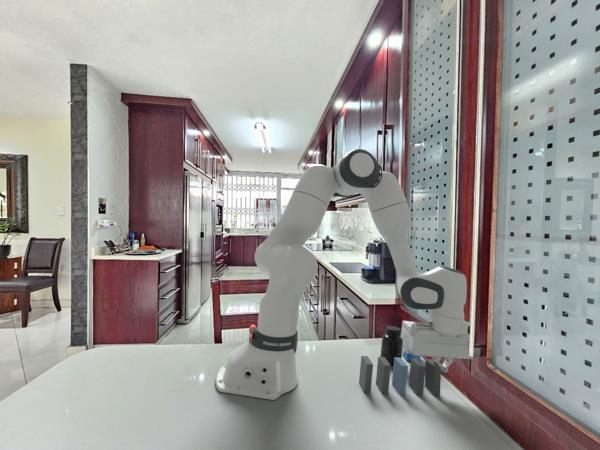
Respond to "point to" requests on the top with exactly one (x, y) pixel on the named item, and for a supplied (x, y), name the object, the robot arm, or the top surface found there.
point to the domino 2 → (383, 375)
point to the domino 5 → (432, 377)
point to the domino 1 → (366, 374)
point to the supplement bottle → (391, 344)
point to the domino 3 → (399, 375)
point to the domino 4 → (417, 376)
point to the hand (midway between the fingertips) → (441, 371)
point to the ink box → (405, 336)
